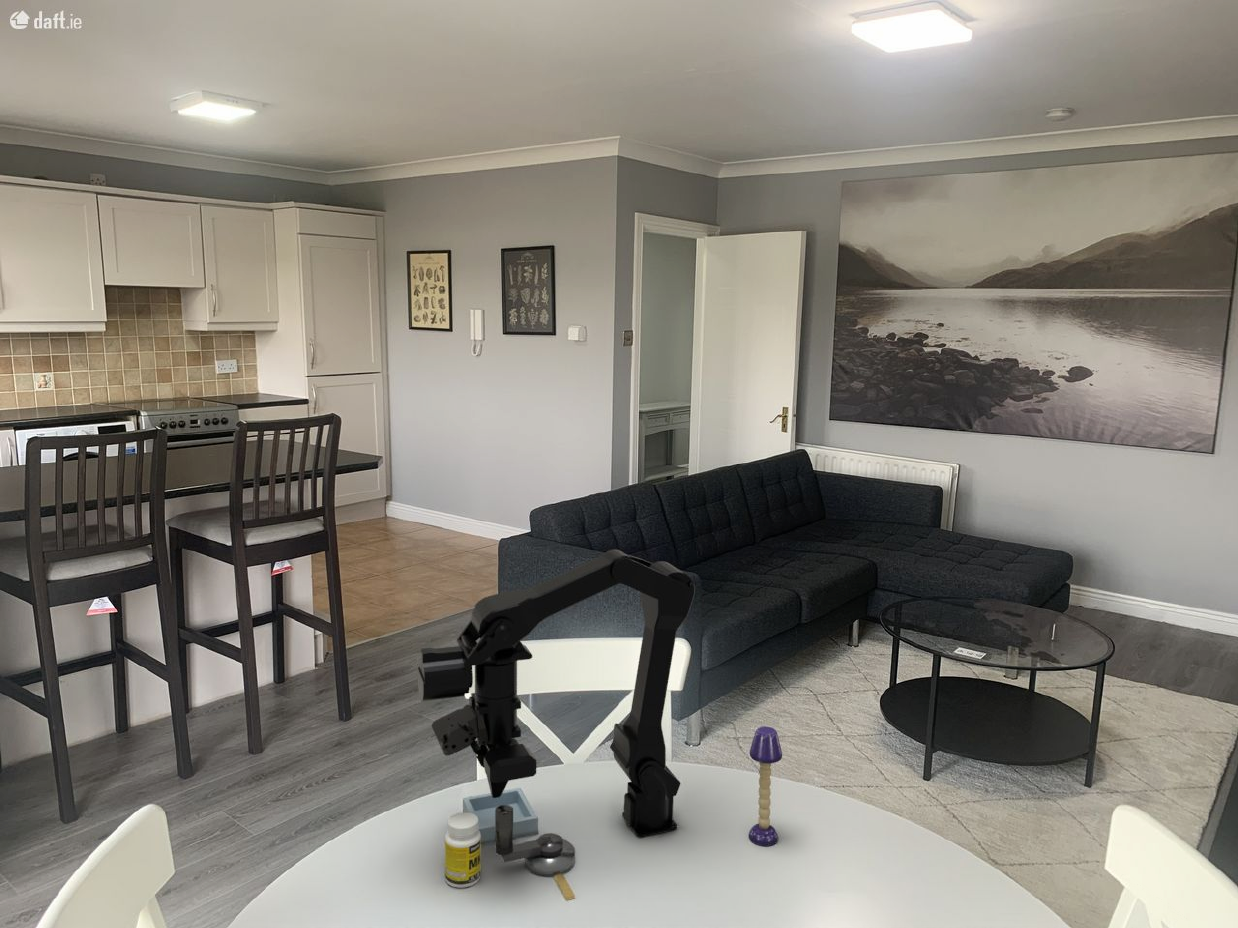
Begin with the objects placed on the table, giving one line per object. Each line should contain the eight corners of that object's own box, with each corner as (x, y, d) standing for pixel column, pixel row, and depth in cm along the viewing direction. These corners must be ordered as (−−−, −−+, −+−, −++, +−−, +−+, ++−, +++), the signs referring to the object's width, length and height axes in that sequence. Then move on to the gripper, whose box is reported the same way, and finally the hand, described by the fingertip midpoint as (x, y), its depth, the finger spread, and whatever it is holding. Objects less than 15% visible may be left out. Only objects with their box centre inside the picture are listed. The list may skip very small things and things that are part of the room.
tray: (520, 802, 139) (520, 787, 139) (537, 833, 131) (538, 817, 131) (462, 813, 136) (462, 797, 136) (477, 845, 128) (477, 829, 127)
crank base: (565, 842, 129) (565, 832, 129) (595, 893, 118) (596, 882, 118) (518, 852, 127) (518, 842, 126) (544, 905, 115) (544, 894, 115)
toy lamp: (741, 841, 131) (747, 733, 128) (749, 824, 135) (755, 720, 132) (774, 849, 129) (780, 740, 126) (781, 832, 133) (787, 726, 130)
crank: (557, 838, 127) (558, 792, 126) (566, 853, 123) (567, 805, 122) (491, 852, 123) (492, 804, 122) (498, 867, 120) (499, 818, 119)
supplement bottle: (473, 891, 118) (473, 832, 116) (439, 885, 119) (438, 827, 117) (485, 869, 122) (486, 812, 121) (453, 864, 123) (452, 808, 122)
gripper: (423, 672, 128) (425, 774, 131) (451, 728, 111) (452, 844, 114) (500, 662, 132) (500, 761, 135) (538, 715, 115) (537, 827, 118)
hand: (495, 796), depth 125 cm, fingers closed
